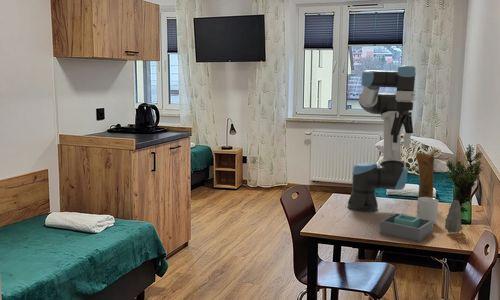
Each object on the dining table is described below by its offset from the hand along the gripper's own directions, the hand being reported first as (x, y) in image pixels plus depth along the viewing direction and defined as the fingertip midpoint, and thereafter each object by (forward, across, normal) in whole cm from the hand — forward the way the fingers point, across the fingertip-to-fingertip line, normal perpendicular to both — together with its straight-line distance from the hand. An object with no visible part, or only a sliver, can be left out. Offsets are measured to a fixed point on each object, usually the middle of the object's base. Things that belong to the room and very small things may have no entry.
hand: (401, 148), depth 214 cm
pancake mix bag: (+35, +44, +2) cm, 56 cm away
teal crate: (+34, -11, -9) cm, 37 cm away
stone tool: (+35, +4, -24) cm, 43 cm away
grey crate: (+35, -11, -9) cm, 37 cm away
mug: (+35, +13, -9) cm, 38 cm away
